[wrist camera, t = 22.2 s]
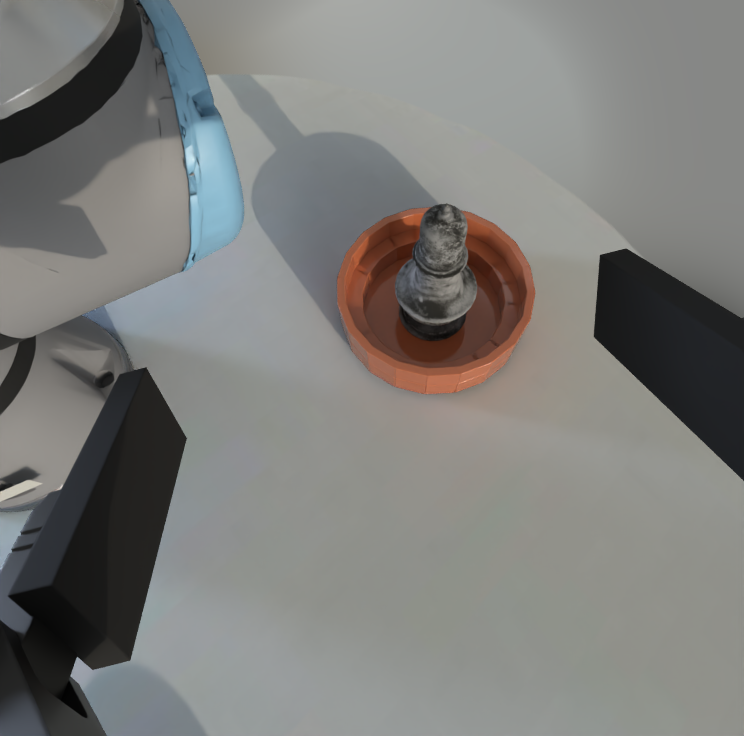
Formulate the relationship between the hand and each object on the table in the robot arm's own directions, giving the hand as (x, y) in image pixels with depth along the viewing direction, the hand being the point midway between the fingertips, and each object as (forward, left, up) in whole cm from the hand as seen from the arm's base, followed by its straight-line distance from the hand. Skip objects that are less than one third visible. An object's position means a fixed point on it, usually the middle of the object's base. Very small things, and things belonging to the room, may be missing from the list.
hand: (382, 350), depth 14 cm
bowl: (-4, +13, -21) cm, 25 cm away
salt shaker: (-4, +13, -21) cm, 25 cm away
